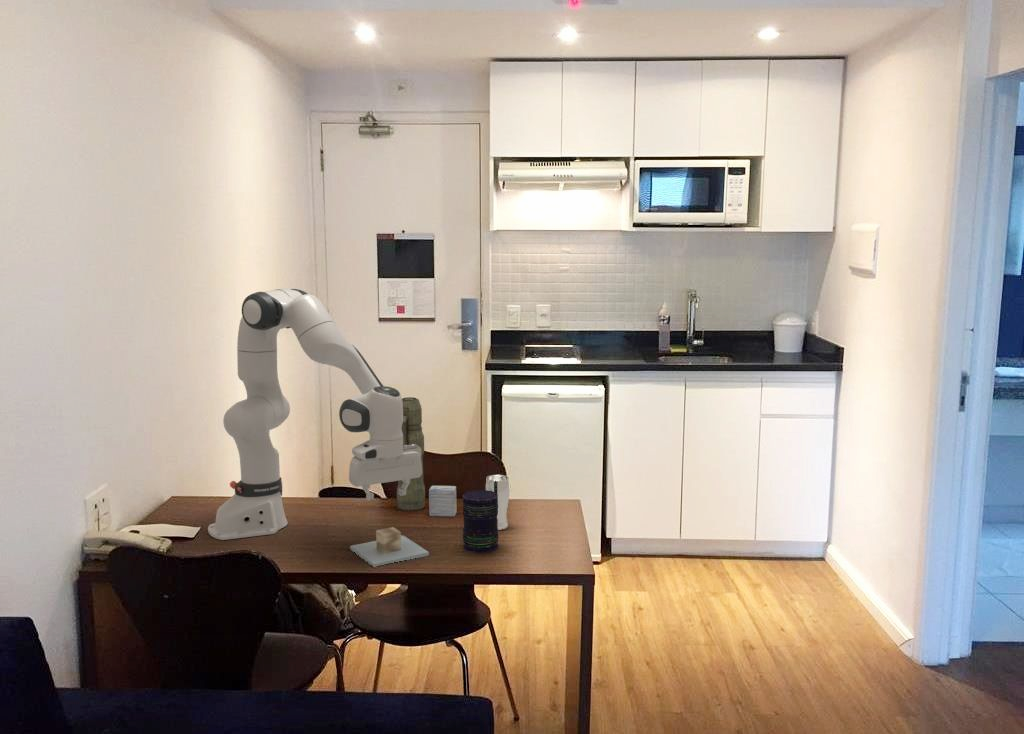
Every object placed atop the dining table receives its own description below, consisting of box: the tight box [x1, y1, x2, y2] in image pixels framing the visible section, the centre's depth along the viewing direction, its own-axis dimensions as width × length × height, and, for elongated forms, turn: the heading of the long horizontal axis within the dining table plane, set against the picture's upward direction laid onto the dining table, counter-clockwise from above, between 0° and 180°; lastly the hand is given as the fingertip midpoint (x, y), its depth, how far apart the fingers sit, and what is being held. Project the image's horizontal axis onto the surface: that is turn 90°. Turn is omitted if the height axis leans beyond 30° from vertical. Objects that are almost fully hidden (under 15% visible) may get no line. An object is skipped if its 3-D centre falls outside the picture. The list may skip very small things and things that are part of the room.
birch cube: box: [375, 526, 402, 553], centre depth 240 cm, size 5×5×5 cm
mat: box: [349, 534, 430, 568], centre depth 240 cm, size 16×16×1 cm
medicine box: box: [428, 485, 458, 517], centre depth 272 cm, size 8×4×9 cm, turn 84°
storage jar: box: [462, 489, 499, 554], centre depth 243 cm, size 10×10×15 cm
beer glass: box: [485, 474, 510, 531], centre depth 260 cm, size 7×7×15 cm
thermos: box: [396, 396, 426, 511], centre depth 277 cm, size 9×12×35 cm
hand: (386, 497), depth 238 cm, fingers open, 8 cm apart
